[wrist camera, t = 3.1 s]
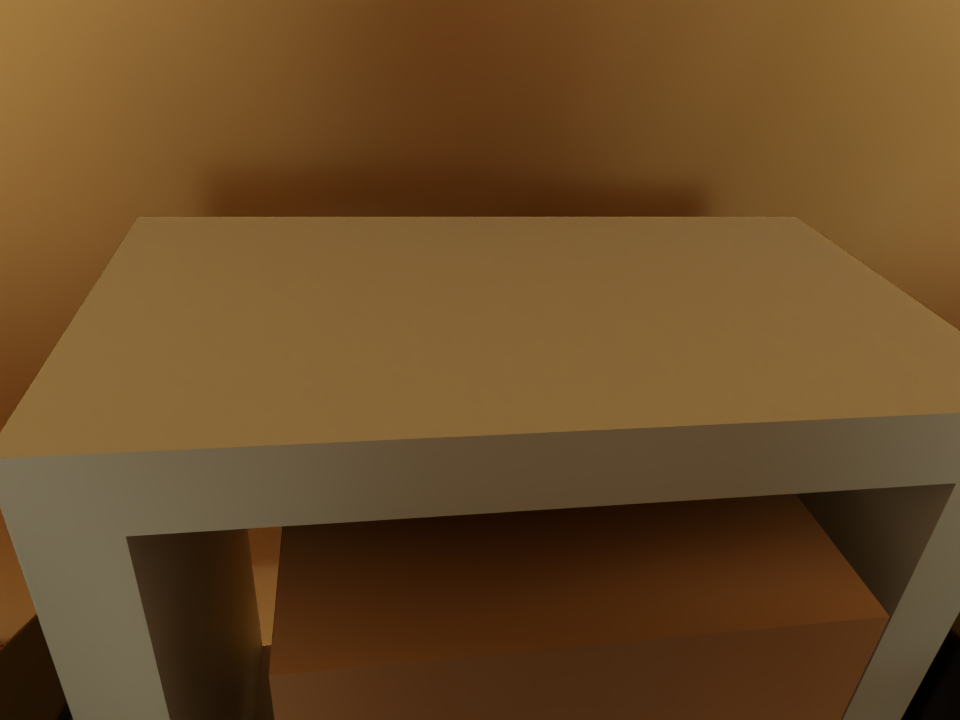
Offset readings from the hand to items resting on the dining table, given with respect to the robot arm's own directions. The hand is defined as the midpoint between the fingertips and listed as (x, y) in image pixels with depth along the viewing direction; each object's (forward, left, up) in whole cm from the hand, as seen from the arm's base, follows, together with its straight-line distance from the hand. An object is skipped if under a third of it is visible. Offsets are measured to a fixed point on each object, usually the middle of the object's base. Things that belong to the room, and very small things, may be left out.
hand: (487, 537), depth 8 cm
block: (0, 0, -3) cm, 3 cm away
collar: (0, 0, -1) cm, 1 cm away
